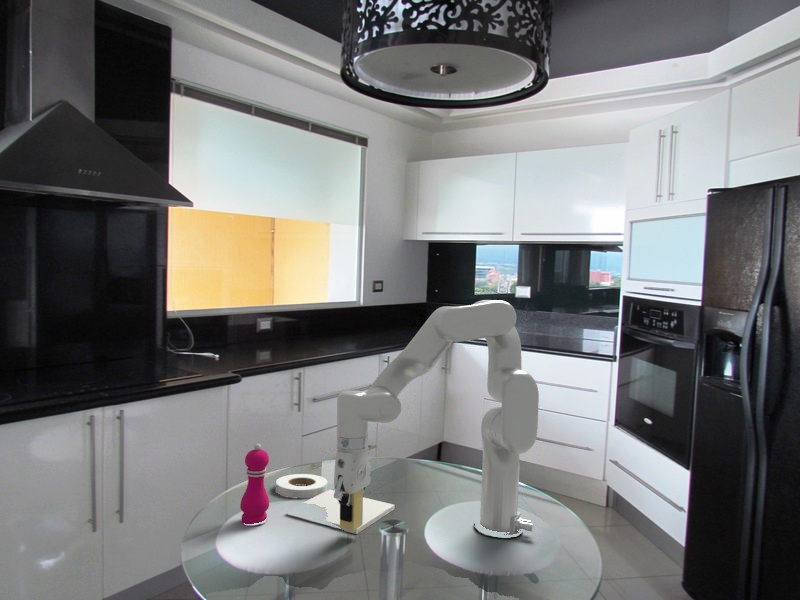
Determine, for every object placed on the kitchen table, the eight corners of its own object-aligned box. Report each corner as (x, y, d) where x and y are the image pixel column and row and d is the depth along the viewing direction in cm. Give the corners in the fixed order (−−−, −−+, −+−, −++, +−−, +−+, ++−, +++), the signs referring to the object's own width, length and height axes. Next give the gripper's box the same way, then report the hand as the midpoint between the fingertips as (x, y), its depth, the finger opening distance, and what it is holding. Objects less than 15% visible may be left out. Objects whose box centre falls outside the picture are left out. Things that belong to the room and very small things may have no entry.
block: (362, 524, 134) (362, 484, 134) (353, 530, 130) (354, 489, 130) (348, 521, 135) (349, 481, 135) (339, 527, 132) (340, 486, 132)
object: (306, 479, 176) (307, 470, 176) (337, 492, 165) (337, 482, 165) (265, 489, 165) (265, 479, 165) (294, 503, 154) (295, 493, 154)
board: (394, 509, 152) (394, 504, 152) (356, 534, 135) (356, 529, 135) (329, 493, 163) (329, 489, 163) (286, 514, 145) (286, 510, 145)
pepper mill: (239, 528, 135) (243, 447, 135) (239, 517, 142) (243, 440, 142) (269, 526, 137) (272, 446, 137) (268, 515, 144) (271, 439, 144)
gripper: (346, 452, 124) (345, 533, 124) (382, 436, 138) (381, 508, 138) (319, 448, 127) (318, 526, 127) (357, 433, 142) (356, 503, 142)
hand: (351, 516), depth 133 cm, fingers closed on block, 4 cm apart
